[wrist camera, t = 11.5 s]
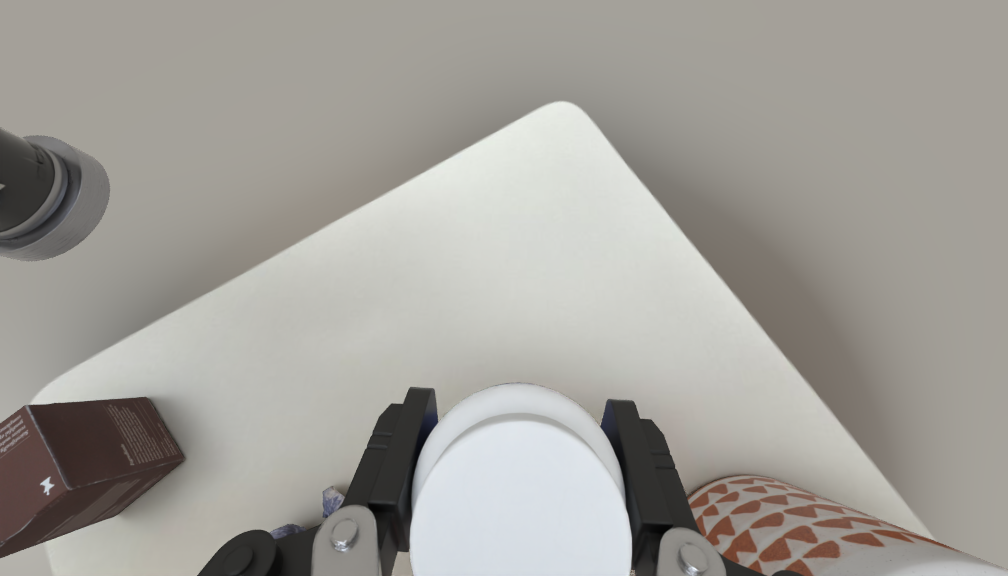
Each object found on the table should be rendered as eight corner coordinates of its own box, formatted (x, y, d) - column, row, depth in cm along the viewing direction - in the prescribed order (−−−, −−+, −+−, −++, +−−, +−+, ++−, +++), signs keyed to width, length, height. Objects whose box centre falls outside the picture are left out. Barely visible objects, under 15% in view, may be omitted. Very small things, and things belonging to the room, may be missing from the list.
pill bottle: (513, 547, 15) (517, 840, 5) (427, 444, 16) (303, 539, 6) (604, 448, 16) (745, 552, 6) (516, 356, 17) (523, 326, 7)
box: (151, 394, 28) (27, 401, 21) (189, 459, 27) (71, 490, 20) (77, 449, 27) (-78, 476, 20) (113, 519, 26) (-38, 574, 19)
